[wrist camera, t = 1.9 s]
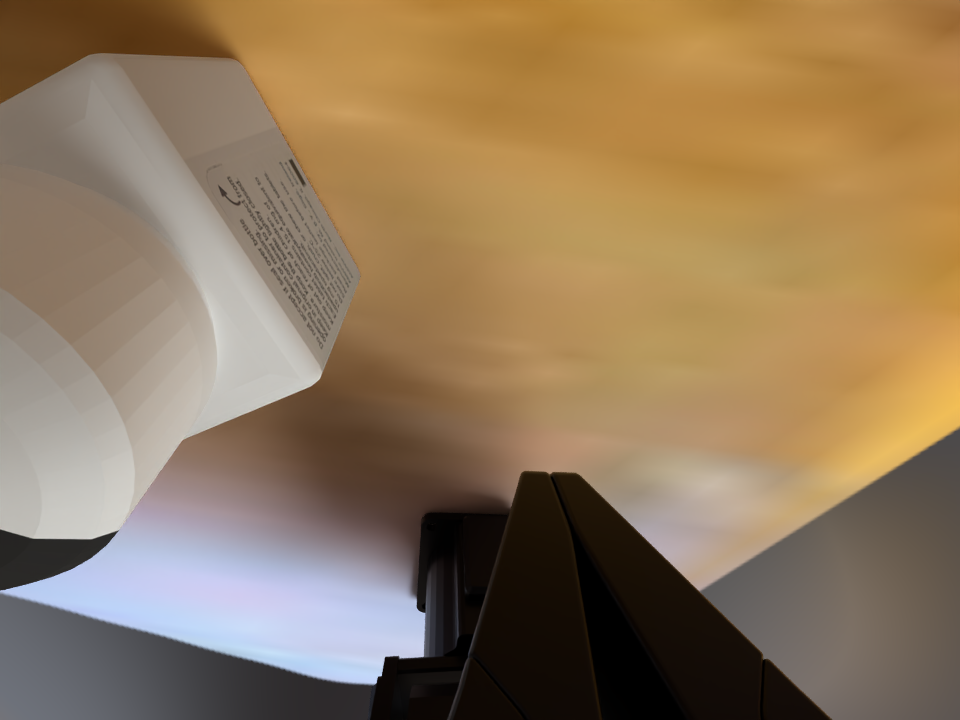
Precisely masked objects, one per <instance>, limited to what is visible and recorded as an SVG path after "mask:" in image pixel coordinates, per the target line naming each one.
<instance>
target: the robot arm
mask: <svg viewBox="0 0 960 720" xmlns="http://www.w3.org/2000/svg"><path fill="white" fill-rule="evenodd" d="M429 523H435V524H433V525H431V524H429ZM417 609H418V610H419V611H421V612H424V613H426V614H425V641H424V657H419V658H400V659H399V656H390V657H385V661H384V666H383V672H382V676H380V677H378V679H377V684H375V685H374V686H372V690H371V698H370V706H369V714H368V720H832V719H831V718H830V717H829V716H828V715H827V714H826V713H825V712H824V711H823V710H822V709H821V708H820V707H818V706H817V705H816V704H815V703H814V702H813V701H812V700H811V699H810V698H809V697H808V696H806V694H804V692H802V691H801V690H800V689H799V688H798V687H797V686H796V685H795V684H794V683H793V682H792V681H791V680H790V679H789V678H788V677H787V676H786V675H785V674H784V673H783V672H782V671H781V670H780V669H779V668H777V666H776V665H774V663H772V662H771V661H770V660H769V659H764V660H763V654H762V652H761V651H760V650H759V649H758V648H757V647H756V646H755V645H754V644H752V642H751V641H750V640H749V639H747V637H745V636H744V635H743V634H742V633H741V632H740V631H739V630H738V629H737V628H736V627H735V626H734V625H733V624H732V623H731V622H730V621H729V620H728V619H727V618H726V617H725V616H724V615H723V614H722V613H721V612H720V611H719V610H718V609H717V608H716V607H715V606H714V605H713V604H711V602H710V601H708V599H706V598H705V597H704V596H703V595H702V594H701V593H700V592H699V591H698V590H697V589H696V588H695V587H694V586H693V585H692V584H691V583H690V582H689V581H688V580H687V579H686V578H685V577H684V576H683V575H682V574H681V573H680V572H679V571H678V570H677V569H676V568H675V567H674V566H673V565H672V564H671V563H670V562H669V561H668V560H666V559H665V558H664V557H663V556H662V555H661V554H660V553H659V552H658V551H657V550H656V549H655V548H654V547H653V546H652V545H651V544H650V543H649V542H648V541H647V540H646V539H645V538H644V537H643V536H642V535H641V534H640V533H639V532H638V531H637V530H636V529H635V528H634V527H633V526H632V525H631V524H630V523H629V522H627V521H626V520H625V519H624V518H623V517H622V516H621V515H620V514H619V513H618V512H617V511H616V510H615V509H614V508H613V507H612V506H611V505H610V504H609V503H608V502H607V501H606V500H605V499H604V498H603V497H602V496H601V495H600V494H599V493H598V492H597V491H596V490H595V489H594V488H593V487H592V486H591V485H590V484H588V483H587V482H586V481H585V480H584V479H583V478H582V477H581V476H580V475H579V474H577V473H567V472H553V473H551V474H550V475H549V474H548V473H547V472H539V471H524V472H522V473H521V476H520V479H519V482H518V486H517V489H516V493H515V496H514V499H513V503H512V506H511V510H510V513H509V515H498V514H463V513H428V514H426V515H424V516H423V517H422V521H421V539H420V556H419V574H418V592H417Z"/></svg>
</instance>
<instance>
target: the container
mask: <svg viewBox="0 0 960 720" xmlns="http://www.w3.org/2000/svg"><path fill="white" fill-rule="evenodd" d="M360 277H361V276H360V272H359V270H358V268H357V266H356V264H355V262H354V261H353V259H352V257H351V255H350V254H349V252H348V250H347V248H346V247H345V245H344V243H343V241H342V240H341V238H340V236H339V234H338V232H337V231H336V229H335V227H334V225H333V224H332V222H331V220H330V218H329V217H328V215H327V213H326V211H325V209H324V208H323V206H322V204H321V202H320V201H319V199H318V197H317V195H316V194H315V192H314V190H313V188H312V186H311V185H310V183H309V181H308V179H307V178H306V176H305V174H304V172H303V171H302V169H301V167H300V165H299V163H298V162H297V160H296V158H295V156H294V155H293V153H292V151H291V149H290V148H289V146H288V144H287V142H286V141H285V139H284V137H283V135H282V133H281V132H280V130H279V128H278V126H277V125H276V123H275V121H274V119H273V118H272V116H271V114H270V112H269V110H268V109H267V107H266V105H265V103H264V102H263V100H262V98H261V96H260V95H259V93H258V91H257V89H256V87H255V86H254V84H253V82H252V80H251V79H250V77H249V75H248V73H247V72H246V70H245V68H244V67H243V66H242V65H241V64H240V62H239V61H237V60H234V59H232V58H214V57H188V56H162V55H136V54H110V53H98V54H92V55H88V56H86V57H84V58H82V59H81V60H79V61H77V62H75V63H73V64H72V65H70V66H68V67H66V68H64V69H63V70H61V71H59V72H57V73H55V74H53V75H52V76H50V77H48V78H46V79H44V80H43V81H41V82H39V83H37V84H35V85H33V86H32V87H30V88H28V89H26V90H24V91H23V92H21V93H19V94H17V95H15V96H14V97H12V98H10V99H8V100H6V101H4V102H3V103H1V104H0V590H6V589H10V588H14V587H18V586H22V585H26V584H29V583H33V582H36V581H40V580H43V579H47V578H50V577H53V576H55V575H58V574H60V573H63V572H66V571H68V570H71V569H73V568H75V567H76V566H78V565H80V564H82V563H83V562H85V561H87V560H89V559H90V558H92V557H93V556H94V555H95V554H97V553H98V552H99V551H100V550H101V549H103V548H104V547H105V546H106V545H107V544H108V543H109V542H110V540H111V539H112V538H113V537H114V536H115V534H116V533H117V532H118V531H119V530H120V528H121V527H122V525H123V524H124V522H125V521H126V520H127V518H128V517H129V515H130V514H131V513H132V511H133V510H134V508H135V507H136V505H137V504H138V503H139V501H140V500H141V498H142V497H143V495H144V494H145V493H146V491H147V490H148V488H149V487H150V485H151V484H152V483H153V481H154V480H155V478H156V477H157V476H158V474H159V473H160V471H161V470H162V468H163V467H164V466H165V464H166V463H167V461H168V460H169V458H170V457H171V456H172V454H173V453H174V451H175V450H176V449H177V447H178V446H179V444H180V443H181V441H182V440H183V439H186V438H188V437H191V436H193V435H195V434H198V433H200V432H203V431H205V430H207V429H210V428H212V427H215V426H217V425H219V424H222V423H224V422H227V421H229V420H231V419H234V418H236V417H239V416H241V415H243V414H246V413H248V412H251V411H253V410H255V409H258V408H260V407H263V406H265V405H267V404H270V403H272V402H275V401H277V400H279V399H282V398H284V397H287V396H289V395H292V394H294V393H296V392H299V391H301V390H304V389H306V388H308V387H311V386H312V385H313V384H315V383H316V382H317V381H318V380H320V378H321V375H322V373H323V370H324V368H325V365H326V363H327V360H328V358H329V355H330V353H331V350H332V348H333V345H334V343H335V340H336V338H337V335H338V333H339V330H340V328H341V325H342V323H343V320H344V318H345V315H346V313H347V310H348V308H349V305H350V303H351V300H352V298H353V295H354V293H355V290H356V288H357V285H358V283H359V280H360Z"/></svg>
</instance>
